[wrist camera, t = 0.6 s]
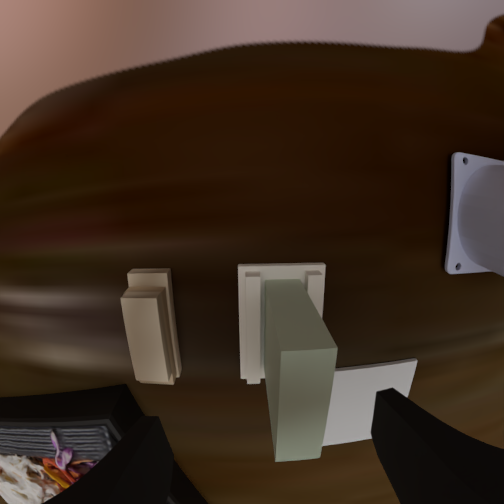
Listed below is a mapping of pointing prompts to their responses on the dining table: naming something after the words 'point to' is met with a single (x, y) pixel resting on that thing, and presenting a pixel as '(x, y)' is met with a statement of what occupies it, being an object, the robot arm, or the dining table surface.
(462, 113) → the dining table surface
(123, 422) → the food platter
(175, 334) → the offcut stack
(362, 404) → the mat
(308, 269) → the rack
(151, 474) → the robot arm
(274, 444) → the grey green block
